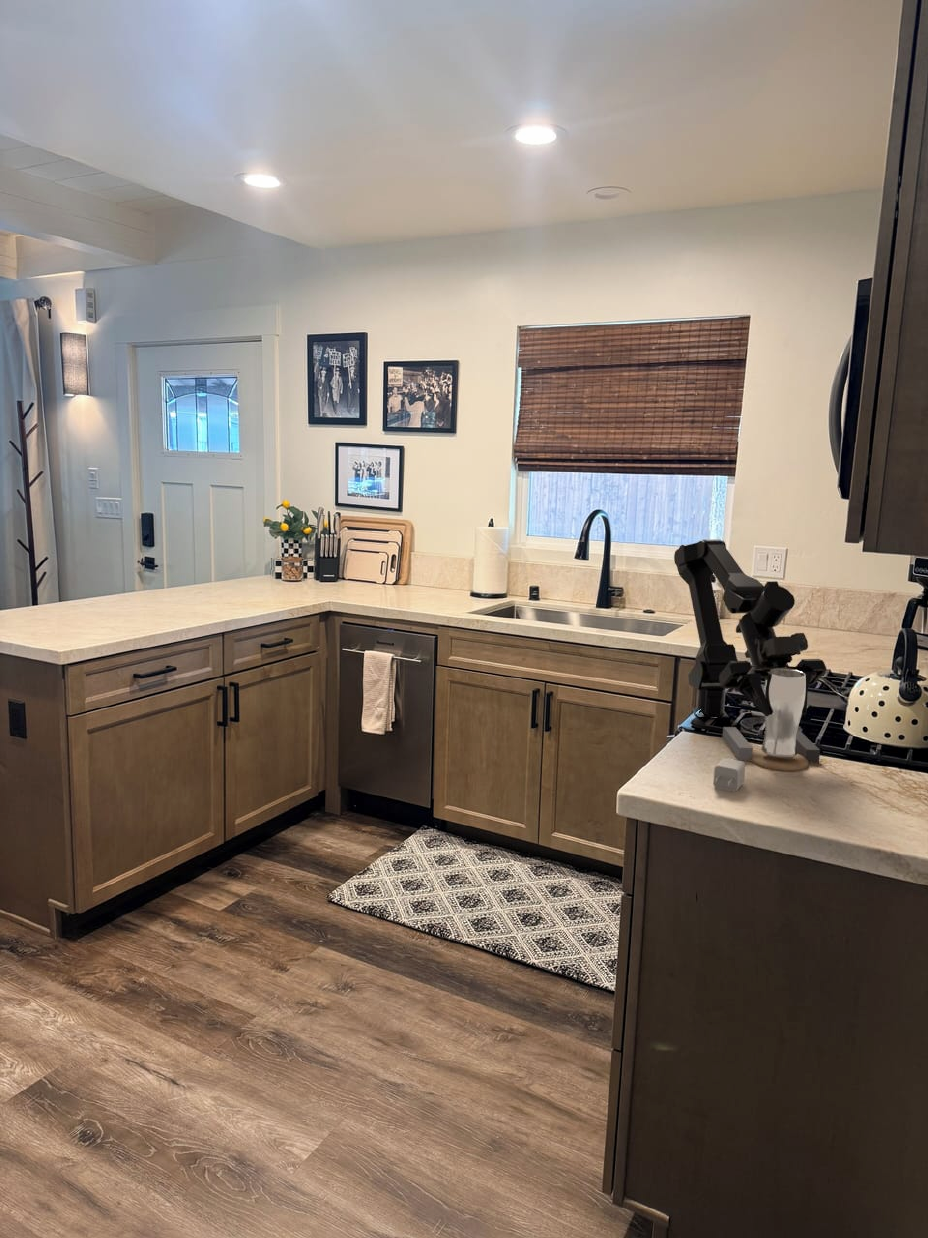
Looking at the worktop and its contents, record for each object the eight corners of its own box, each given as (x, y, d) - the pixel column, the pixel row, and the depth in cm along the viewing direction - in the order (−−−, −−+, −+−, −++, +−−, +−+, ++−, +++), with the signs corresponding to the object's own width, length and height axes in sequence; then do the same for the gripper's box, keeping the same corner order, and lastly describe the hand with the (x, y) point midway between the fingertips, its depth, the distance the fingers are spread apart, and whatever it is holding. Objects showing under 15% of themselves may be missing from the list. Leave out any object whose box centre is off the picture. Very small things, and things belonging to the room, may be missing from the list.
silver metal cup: (801, 749, 153) (808, 670, 151) (797, 761, 147) (805, 679, 144) (761, 743, 157) (768, 665, 154) (756, 754, 150) (763, 674, 147)
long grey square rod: (784, 740, 164) (785, 728, 163) (796, 740, 163) (797, 729, 163) (805, 762, 152) (806, 749, 151) (818, 762, 152) (820, 750, 151)
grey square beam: (722, 738, 164) (723, 727, 164) (734, 739, 164) (735, 727, 164) (738, 760, 152) (739, 747, 152) (751, 760, 152) (752, 748, 152)
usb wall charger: (743, 784, 141) (745, 762, 140) (733, 798, 135) (734, 774, 135) (720, 779, 143) (721, 757, 143) (708, 792, 138) (710, 769, 137)
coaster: (743, 751, 157) (743, 748, 157) (797, 752, 157) (797, 749, 157) (758, 770, 147) (759, 767, 147) (816, 772, 147) (816, 769, 147)
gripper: (730, 618, 150) (756, 694, 141) (826, 616, 152) (857, 691, 144) (708, 650, 159) (730, 724, 150) (799, 648, 162) (826, 720, 153)
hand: (786, 714), depth 149 cm, fingers closed on silver metal cup, 7 cm apart
